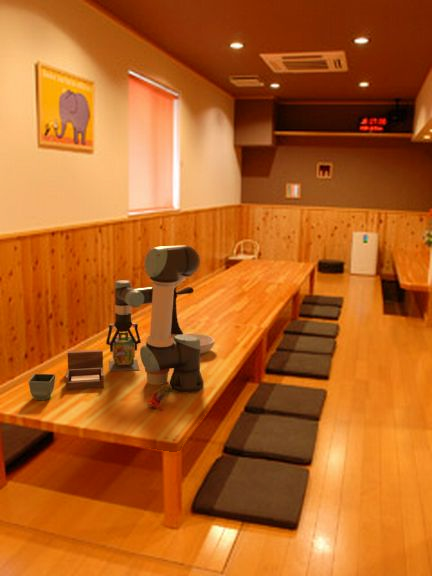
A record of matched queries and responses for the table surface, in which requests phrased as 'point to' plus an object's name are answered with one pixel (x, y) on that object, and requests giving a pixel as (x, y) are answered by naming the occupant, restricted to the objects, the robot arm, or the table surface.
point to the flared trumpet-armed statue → (175, 326)
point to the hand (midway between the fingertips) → (123, 357)
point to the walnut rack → (85, 369)
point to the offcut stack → (84, 378)
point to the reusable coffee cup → (157, 376)
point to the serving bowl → (204, 342)
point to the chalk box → (123, 350)
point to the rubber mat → (123, 367)
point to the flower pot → (42, 386)
